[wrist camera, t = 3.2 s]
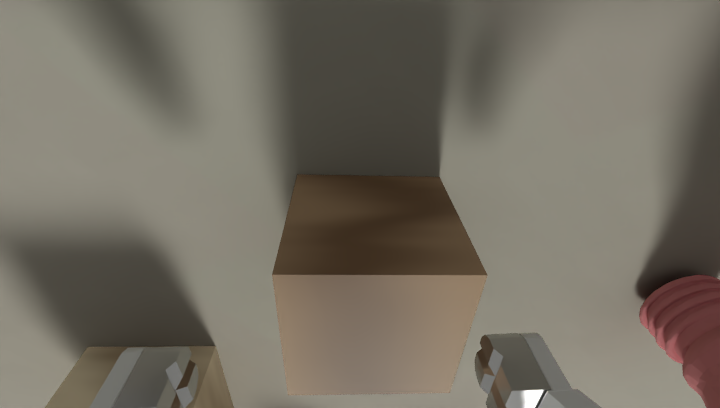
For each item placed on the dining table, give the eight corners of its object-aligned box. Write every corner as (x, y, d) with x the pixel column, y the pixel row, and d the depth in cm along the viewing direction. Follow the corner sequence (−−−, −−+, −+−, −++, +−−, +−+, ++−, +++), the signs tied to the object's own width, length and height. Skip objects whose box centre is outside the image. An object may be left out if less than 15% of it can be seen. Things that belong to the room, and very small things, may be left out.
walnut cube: (438, 175, 12) (487, 275, 8) (420, 278, 15) (449, 392, 11) (297, 173, 12) (272, 274, 8) (304, 277, 15) (288, 395, 11)
